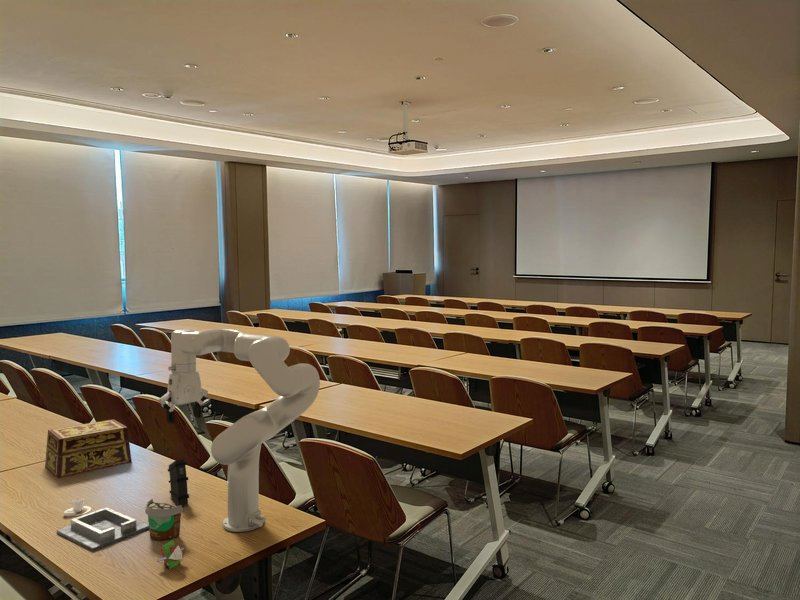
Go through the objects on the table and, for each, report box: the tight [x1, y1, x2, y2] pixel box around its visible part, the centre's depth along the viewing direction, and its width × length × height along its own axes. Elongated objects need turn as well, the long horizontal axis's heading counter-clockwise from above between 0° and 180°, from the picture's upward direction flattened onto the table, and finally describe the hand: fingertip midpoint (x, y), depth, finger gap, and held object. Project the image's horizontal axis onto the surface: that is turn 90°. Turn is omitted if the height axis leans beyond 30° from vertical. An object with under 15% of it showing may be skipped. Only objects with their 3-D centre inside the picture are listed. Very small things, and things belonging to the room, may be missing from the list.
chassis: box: [56, 507, 149, 552], centre depth 183 cm, size 20×18×4 cm
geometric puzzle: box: [156, 539, 186, 571], centre depth 163 cm, size 7×7×8 cm
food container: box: [144, 498, 184, 542], centre depth 179 cm, size 12×6×10 cm, turn 68°
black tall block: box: [167, 458, 190, 507], centre depth 207 cm, size 4×13×15 cm, turn 35°
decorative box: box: [44, 418, 133, 479], centre depth 243 cm, size 28×19×15 cm
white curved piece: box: [62, 498, 92, 517], centre depth 197 cm, size 9×8×4 cm
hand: (184, 420), depth 195 cm, fingers open, 9 cm apart
